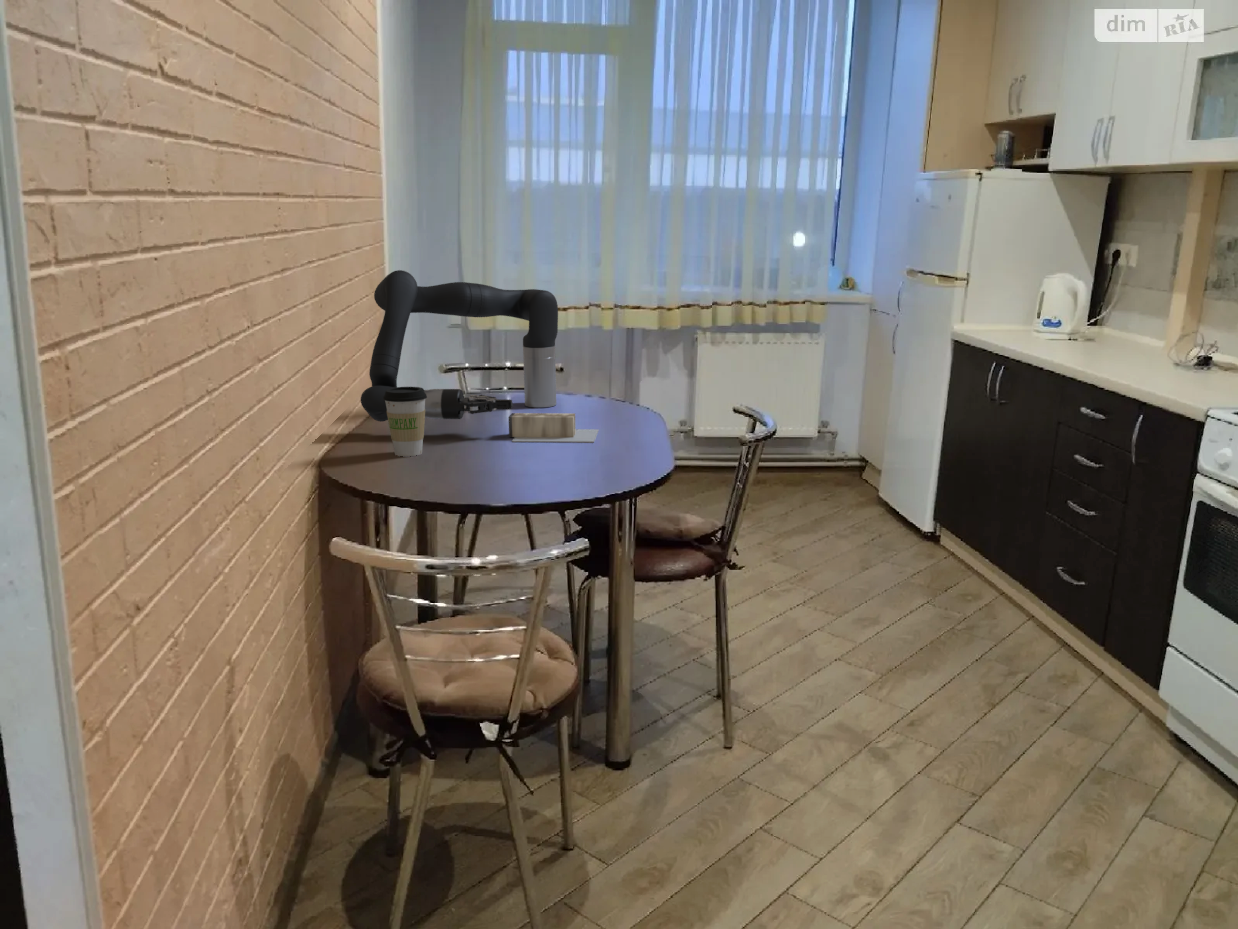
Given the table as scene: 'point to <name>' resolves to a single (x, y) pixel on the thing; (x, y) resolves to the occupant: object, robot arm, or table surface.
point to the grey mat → (579, 437)
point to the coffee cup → (406, 419)
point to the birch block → (542, 425)
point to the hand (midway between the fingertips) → (511, 404)
